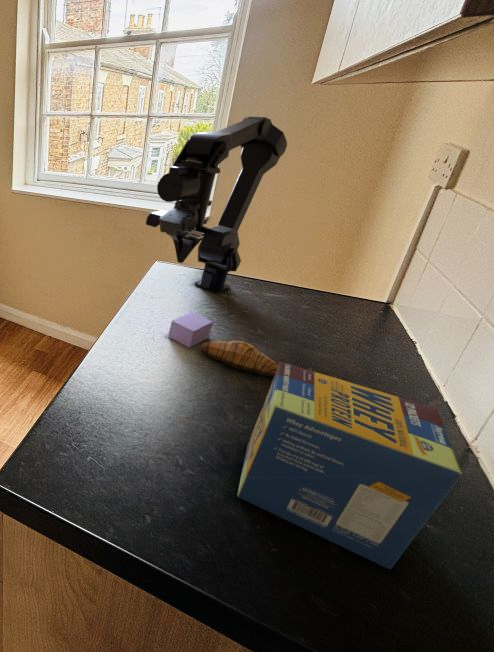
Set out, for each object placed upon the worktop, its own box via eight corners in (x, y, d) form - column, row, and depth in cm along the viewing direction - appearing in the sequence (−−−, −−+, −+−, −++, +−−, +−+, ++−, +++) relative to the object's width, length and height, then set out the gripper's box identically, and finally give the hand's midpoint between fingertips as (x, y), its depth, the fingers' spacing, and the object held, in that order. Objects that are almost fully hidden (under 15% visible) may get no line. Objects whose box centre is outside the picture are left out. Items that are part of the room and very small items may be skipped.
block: (187, 327, 89) (191, 311, 87) (208, 337, 85) (213, 321, 83) (167, 336, 85) (171, 320, 84) (189, 348, 82) (193, 331, 80)
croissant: (195, 359, 78) (201, 337, 76) (204, 344, 83) (209, 323, 81) (276, 388, 71) (285, 365, 69) (280, 369, 76) (289, 347, 73)
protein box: (245, 445, 59) (278, 359, 52) (381, 501, 51) (442, 408, 44) (235, 498, 52) (272, 405, 45) (393, 573, 44) (468, 474, 37)
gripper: (136, 191, 90) (125, 256, 97) (216, 210, 76) (197, 285, 83) (166, 186, 95) (154, 248, 102) (246, 203, 82) (226, 273, 89)
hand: (180, 262), depth 94 cm, fingers closed
